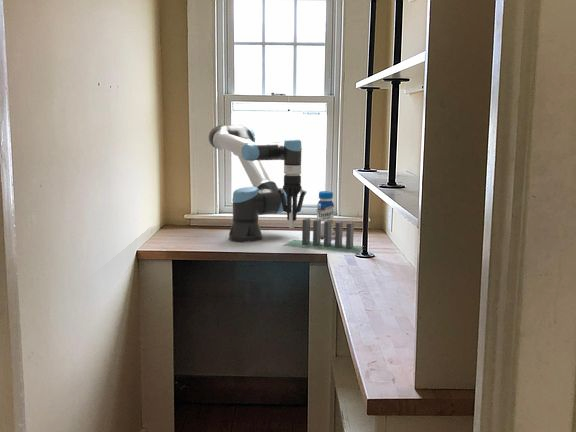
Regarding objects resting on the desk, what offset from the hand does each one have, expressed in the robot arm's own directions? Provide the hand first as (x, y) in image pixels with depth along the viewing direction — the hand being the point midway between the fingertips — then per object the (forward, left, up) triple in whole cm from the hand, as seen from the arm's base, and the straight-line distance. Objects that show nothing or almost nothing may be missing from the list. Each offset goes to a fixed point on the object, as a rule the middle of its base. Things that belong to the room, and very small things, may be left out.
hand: (291, 227), depth 264 cm
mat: (+16, -1, -7) cm, 17 cm away
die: (+10, +17, -7) cm, 21 cm away
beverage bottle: (+6, +30, -7) cm, 31 cm away
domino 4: (+22, 0, -7) cm, 23 cm away
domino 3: (+17, 0, -7) cm, 18 cm away
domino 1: (+7, 0, -7) cm, 9 cm away
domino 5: (+27, 0, -7) cm, 28 cm away
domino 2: (+12, 0, -7) cm, 14 cm away
